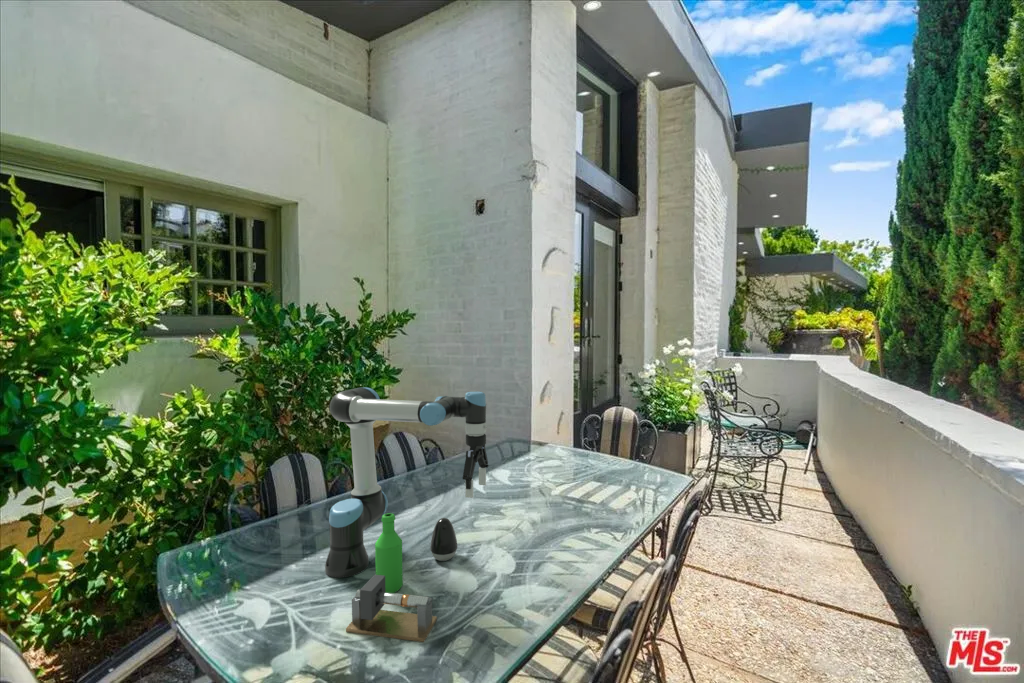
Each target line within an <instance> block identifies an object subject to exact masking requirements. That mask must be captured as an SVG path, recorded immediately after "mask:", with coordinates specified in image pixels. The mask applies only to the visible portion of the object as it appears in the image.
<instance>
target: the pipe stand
mask: <svg viewBox="0 0 1024 683" xmlns="http://www.w3.org/2000/svg"><path fill="white" fill-rule="evenodd" d="M360 589H361V588H359V589H357V590H356V592H355V596H354V597H353V598H351V617H352V618H351V621H350V623H349V624H348V625H347V626H346V627H345V632H346V633H352V634H360V635H365V636H366V635H368V636H376V637H382V638H383V637H384V638H389V639H397V640H404V641H411V642H413V641H414V642H420V643H424V642H425V641H426V639H427V637H428V636H429V634H430V633H431V631H432V629H433V628H434V626H435V624H436V622H437V620H438V616H435V615H433V598H432V597H429V596H424V595H423V596H421V595H414V594H406V593H397V592H394V593H388V592H380V591H378V592H377V593H376V594H375V603H381V604H385V605H391V606H398V607H399V606H400V607H404V608H415V609H416V608H417V610H416V611H417V613H413V612H411V613H409V612H404V611H403V612H402V611H395V610H385V609H380V611H379V612H378V613H377V614H376V616H375V617H374V618H373V619H372V620H367V619H360Z"/></svg>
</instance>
